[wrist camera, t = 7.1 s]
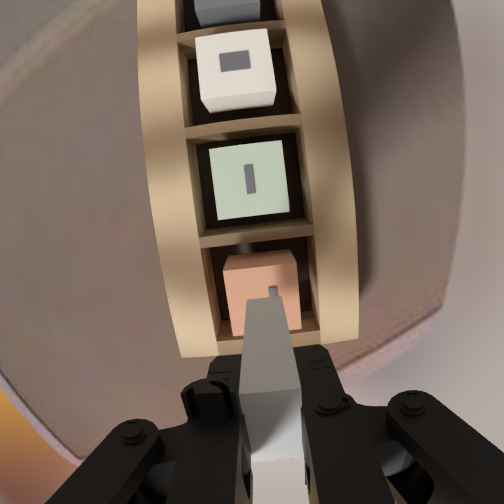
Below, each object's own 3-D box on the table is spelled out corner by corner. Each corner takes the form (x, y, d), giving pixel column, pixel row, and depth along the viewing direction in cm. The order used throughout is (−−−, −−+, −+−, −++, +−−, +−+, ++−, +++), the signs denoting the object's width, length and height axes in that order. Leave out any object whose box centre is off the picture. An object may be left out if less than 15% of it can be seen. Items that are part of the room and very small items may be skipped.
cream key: (204, 59, 16) (194, 36, 13) (264, 51, 16) (266, 27, 13) (210, 113, 17) (200, 99, 13) (272, 105, 17) (276, 89, 13)
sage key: (216, 154, 18) (208, 148, 15) (277, 147, 18) (281, 140, 15) (224, 213, 19) (217, 220, 16) (283, 206, 19) (290, 211, 15)
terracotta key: (228, 255, 18) (222, 271, 15) (289, 248, 18) (296, 263, 15) (236, 312, 19) (233, 337, 16) (294, 305, 19) (301, 329, 16)
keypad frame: (150, -10, 16) (138, -30, 13) (299, -30, 15) (304, -52, 12) (190, 335, 21) (181, 357, 18) (345, 318, 21) (358, 338, 18)
